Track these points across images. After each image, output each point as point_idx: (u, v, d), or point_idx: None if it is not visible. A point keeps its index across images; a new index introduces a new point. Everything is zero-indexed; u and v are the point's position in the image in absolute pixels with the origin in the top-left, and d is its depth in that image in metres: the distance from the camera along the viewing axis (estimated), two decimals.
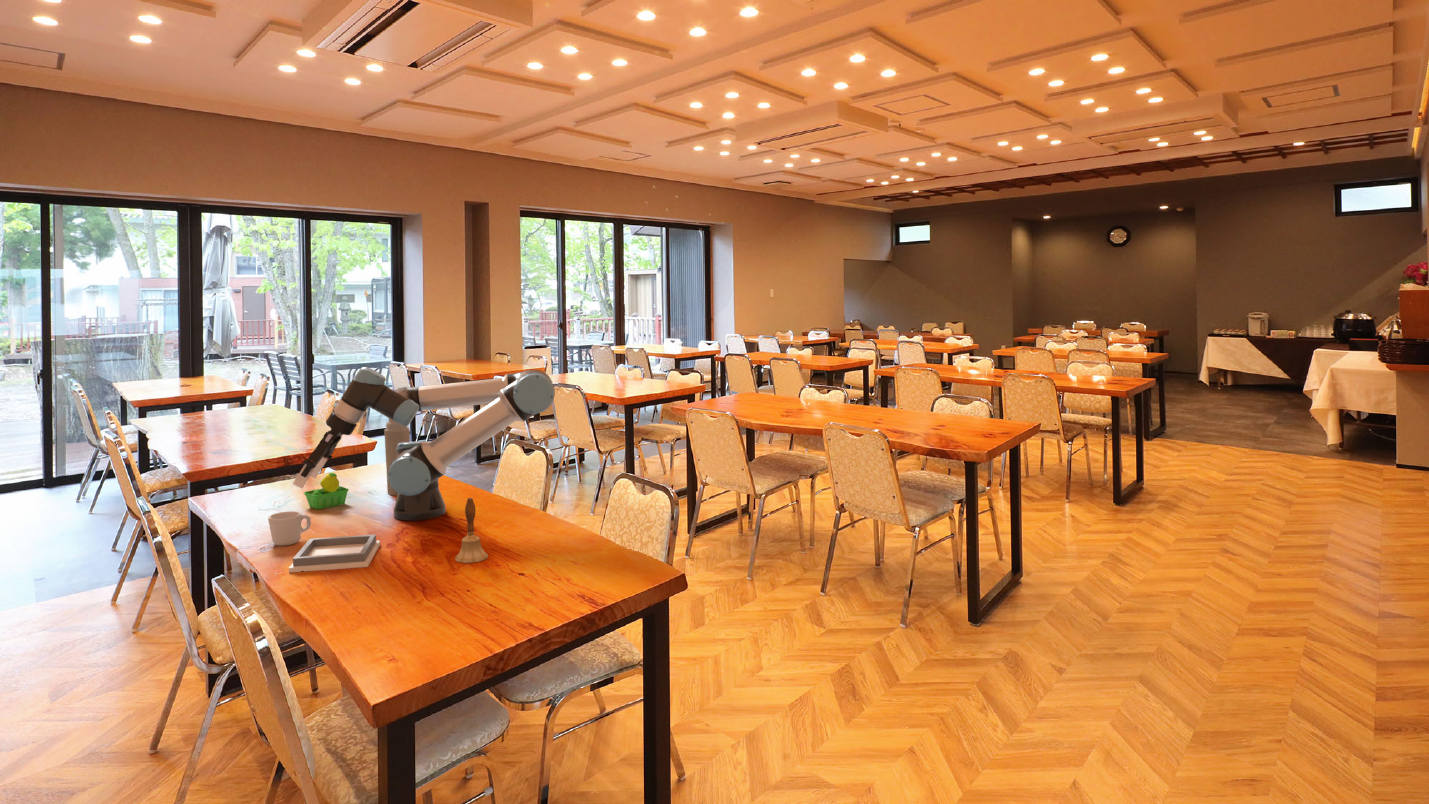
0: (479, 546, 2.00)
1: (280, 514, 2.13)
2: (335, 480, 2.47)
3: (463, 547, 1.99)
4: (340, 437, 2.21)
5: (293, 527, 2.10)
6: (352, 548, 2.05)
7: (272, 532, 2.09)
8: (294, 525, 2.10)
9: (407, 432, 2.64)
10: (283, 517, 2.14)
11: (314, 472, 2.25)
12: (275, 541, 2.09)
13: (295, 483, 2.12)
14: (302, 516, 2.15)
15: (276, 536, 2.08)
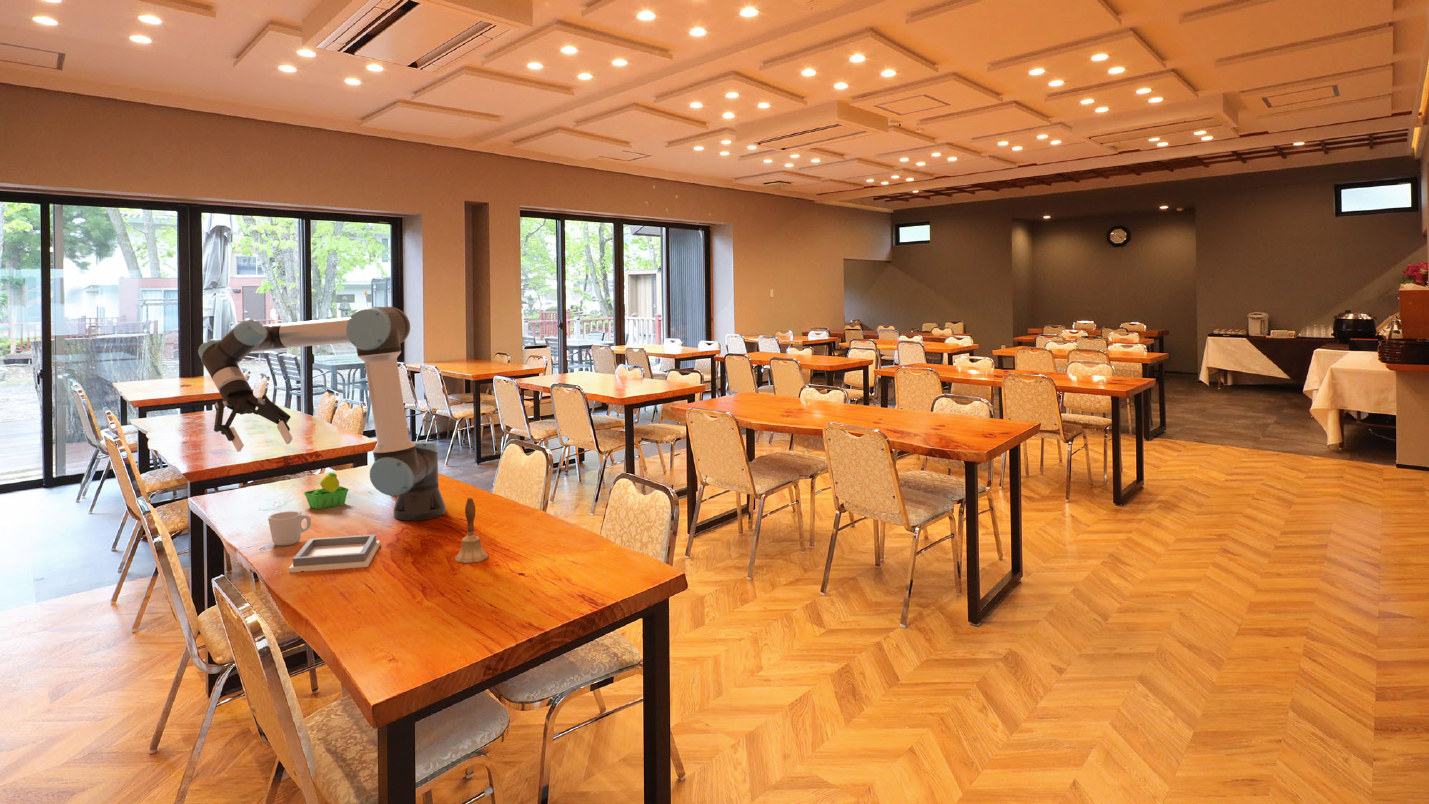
0: (479, 546, 2.00)
1: (280, 514, 2.13)
2: (335, 480, 2.47)
3: (463, 547, 1.99)
4: (248, 398, 2.19)
5: (293, 527, 2.10)
6: (352, 548, 2.05)
7: (272, 532, 2.09)
8: (294, 525, 2.10)
9: None
10: (283, 517, 2.14)
11: (286, 436, 2.21)
12: (275, 541, 2.09)
13: (237, 449, 2.09)
14: (302, 516, 2.15)
15: (276, 536, 2.08)
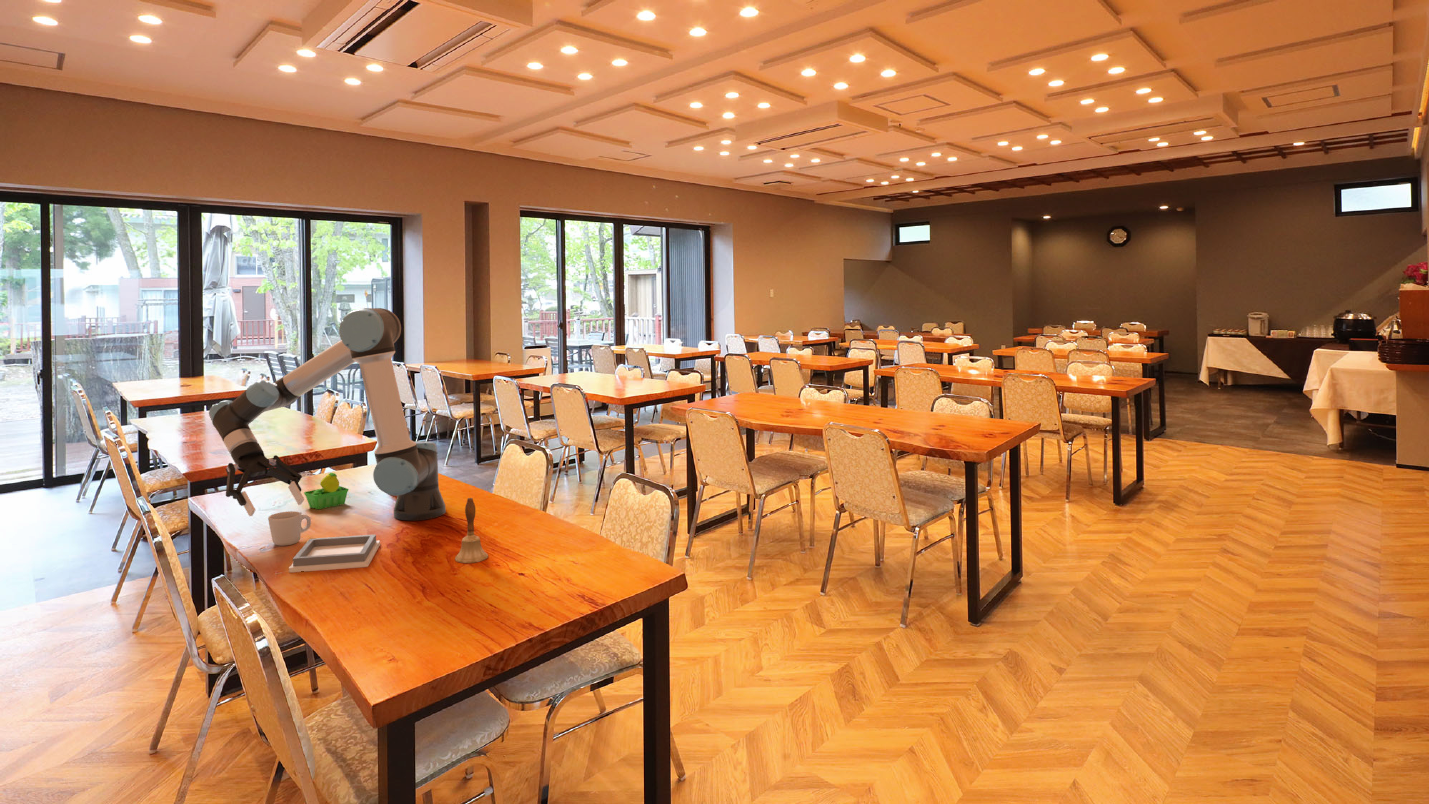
0: (479, 546, 2.00)
1: (280, 514, 2.13)
2: (335, 480, 2.47)
3: (463, 547, 1.99)
4: (259, 460, 2.18)
5: (293, 527, 2.10)
6: (352, 548, 2.05)
7: (272, 532, 2.09)
8: (294, 525, 2.10)
9: None
10: (283, 517, 2.14)
11: (298, 497, 2.20)
12: (275, 541, 2.09)
13: (249, 513, 2.08)
14: (302, 516, 2.15)
15: (276, 536, 2.08)
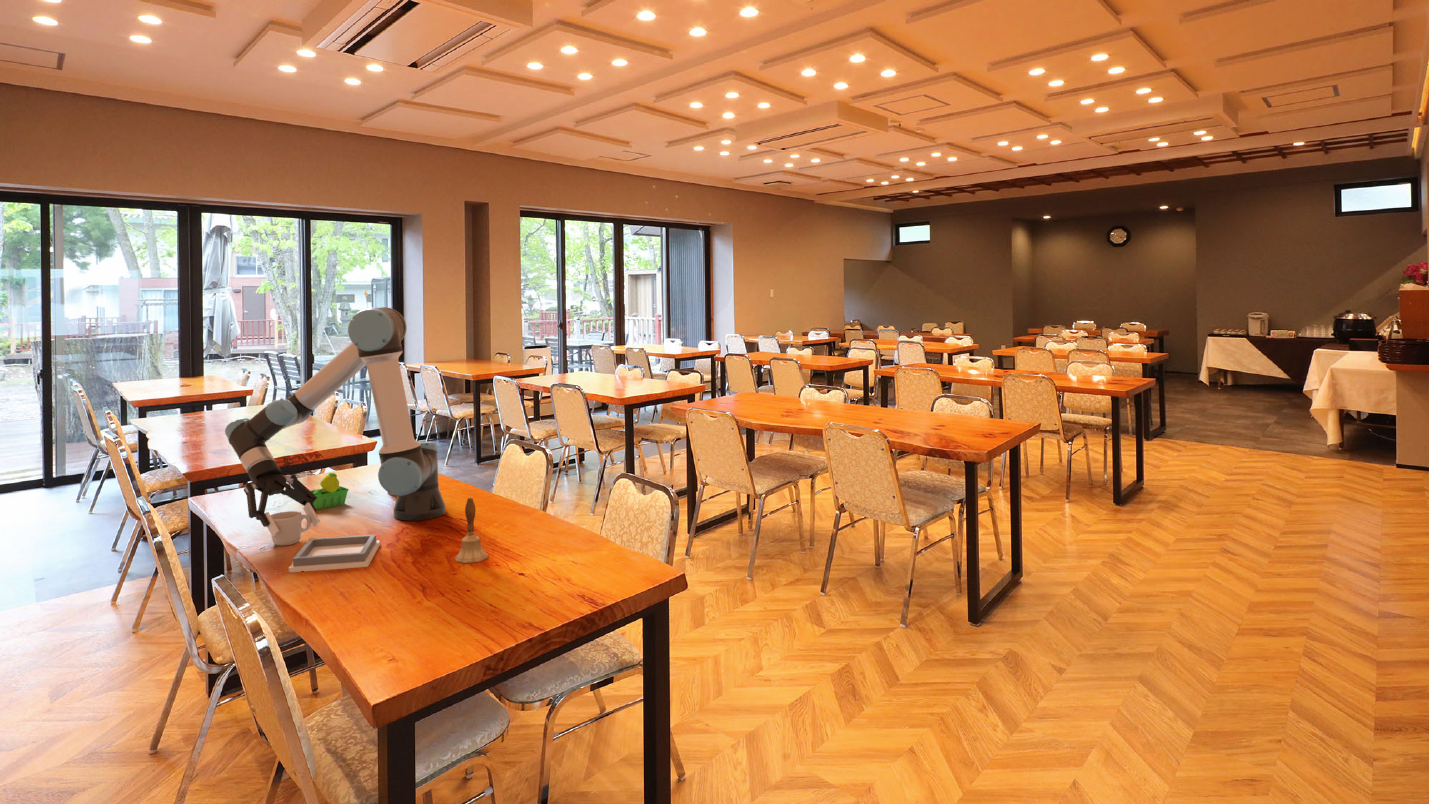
0: (479, 546, 2.00)
1: (280, 514, 2.13)
2: (335, 480, 2.47)
3: (463, 547, 1.99)
4: (276, 478, 2.16)
5: (293, 527, 2.10)
6: (352, 548, 2.05)
7: None
8: (294, 525, 2.10)
9: None
10: (283, 517, 2.14)
11: (313, 519, 2.16)
12: (275, 541, 2.09)
13: (273, 535, 2.07)
14: (302, 516, 2.15)
15: (276, 536, 2.08)
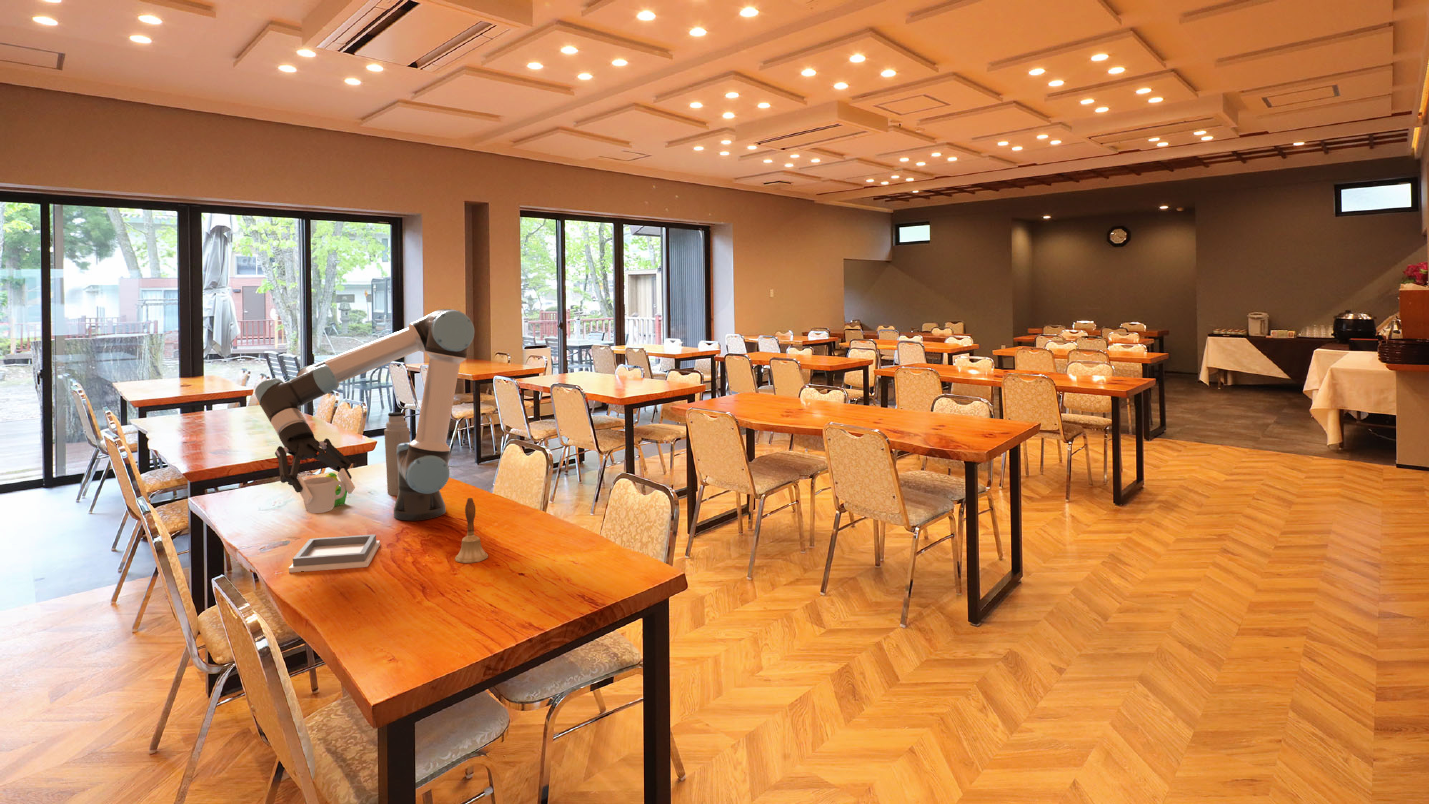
0: (479, 546, 2.00)
1: (313, 480, 2.00)
2: None
3: (463, 547, 1.99)
4: (309, 442, 2.02)
5: (327, 493, 1.96)
6: (352, 548, 2.05)
7: None
8: (328, 491, 1.96)
9: (407, 432, 2.64)
10: (316, 483, 2.00)
11: (348, 486, 2.02)
12: (308, 508, 1.95)
13: (306, 501, 1.93)
14: (336, 482, 2.01)
15: (309, 503, 1.95)
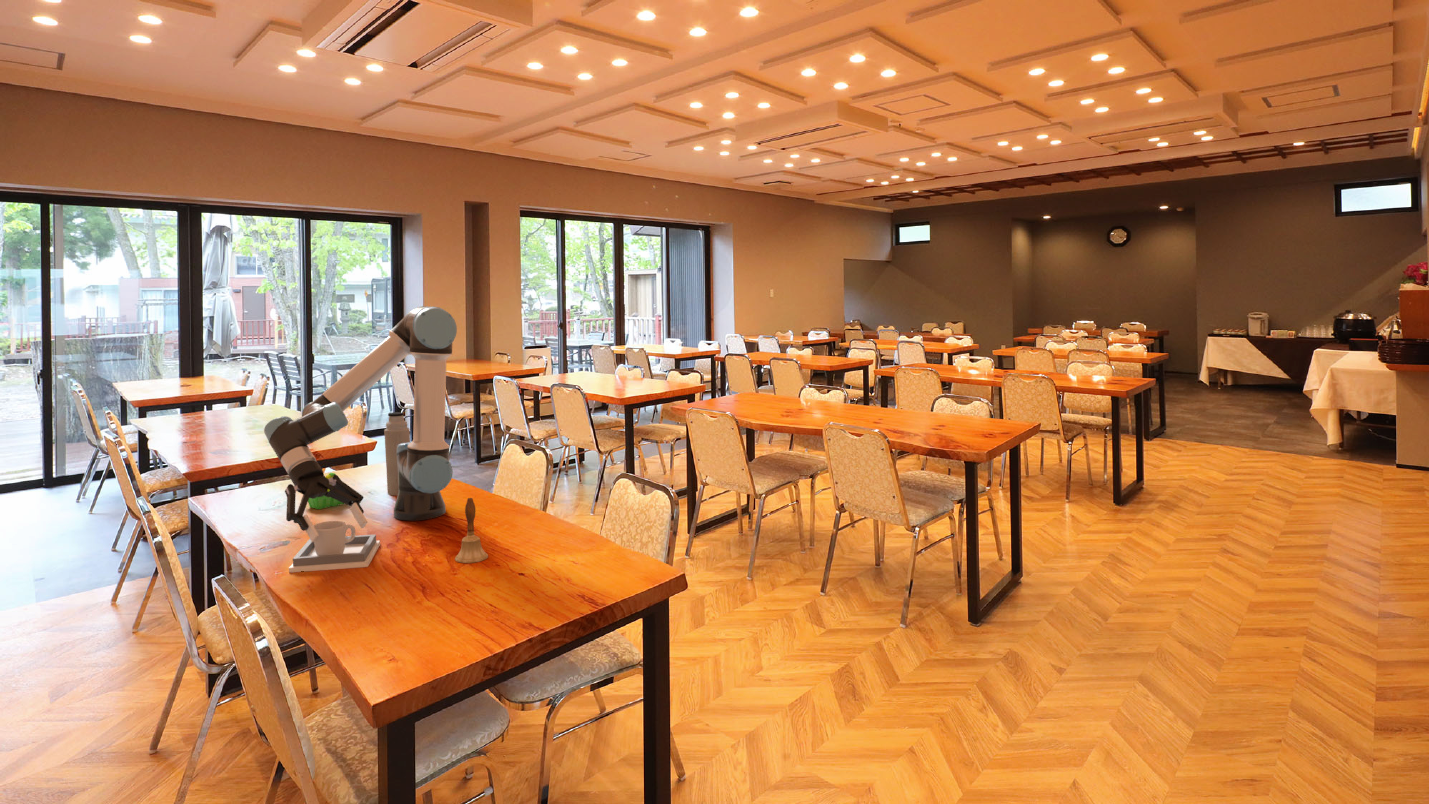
0: (479, 546, 2.00)
1: (323, 524, 2.01)
2: None
3: (463, 547, 1.99)
4: (319, 480, 2.03)
5: (338, 538, 1.97)
6: (352, 548, 2.05)
7: (315, 543, 1.96)
8: (339, 536, 1.97)
9: (407, 432, 2.64)
10: (327, 527, 2.01)
11: (361, 520, 2.04)
12: (319, 553, 1.96)
13: (312, 539, 1.93)
14: (346, 526, 2.02)
15: (320, 547, 1.96)
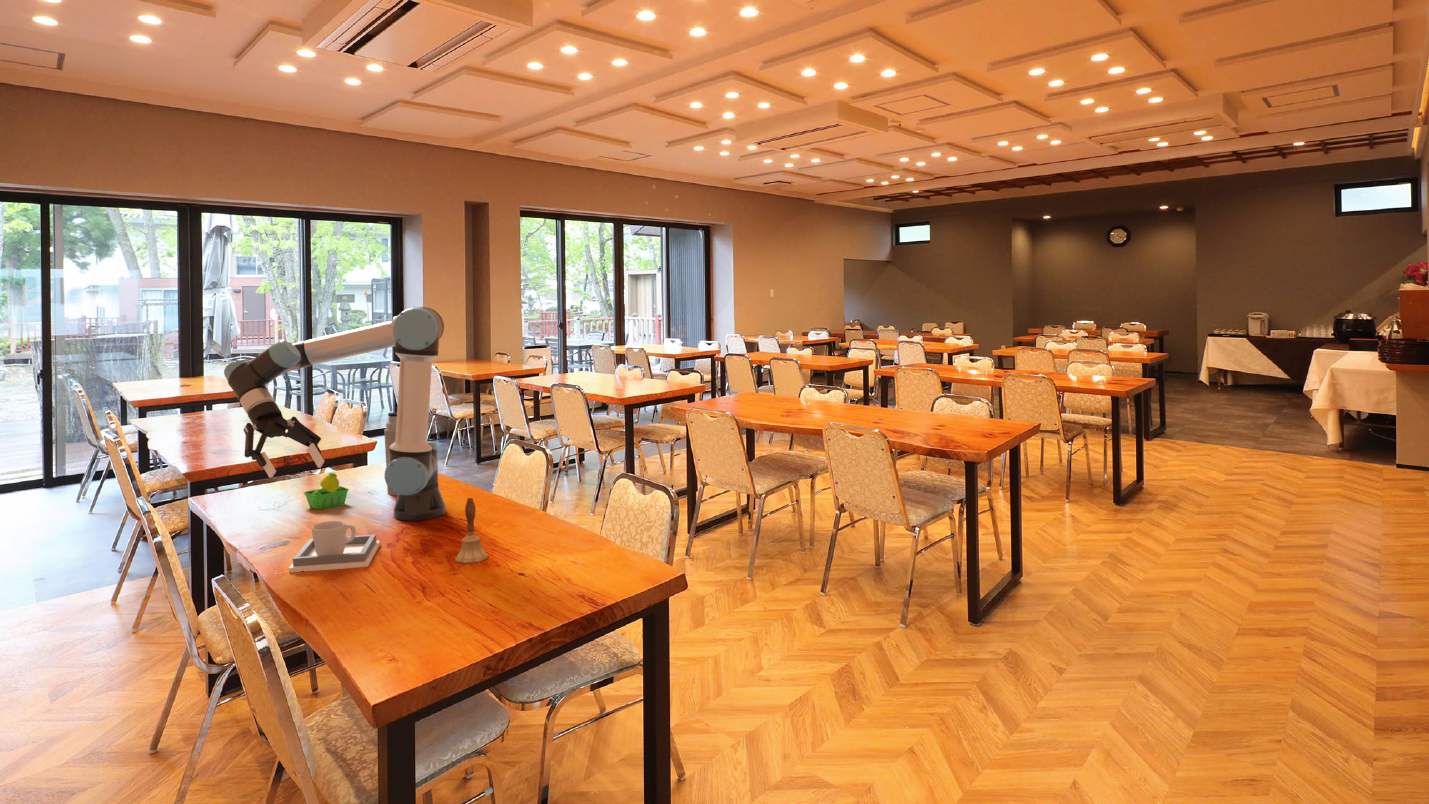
0: (479, 546, 2.00)
1: (323, 524, 2.01)
2: (335, 480, 2.47)
3: (463, 547, 1.99)
4: (277, 420, 2.11)
5: (338, 538, 1.97)
6: (352, 548, 2.05)
7: (316, 543, 1.96)
8: (339, 536, 1.97)
9: None
10: (327, 527, 2.01)
11: (318, 460, 2.13)
12: (319, 553, 1.96)
13: (269, 475, 2.01)
14: (346, 526, 2.02)
15: (320, 547, 1.96)
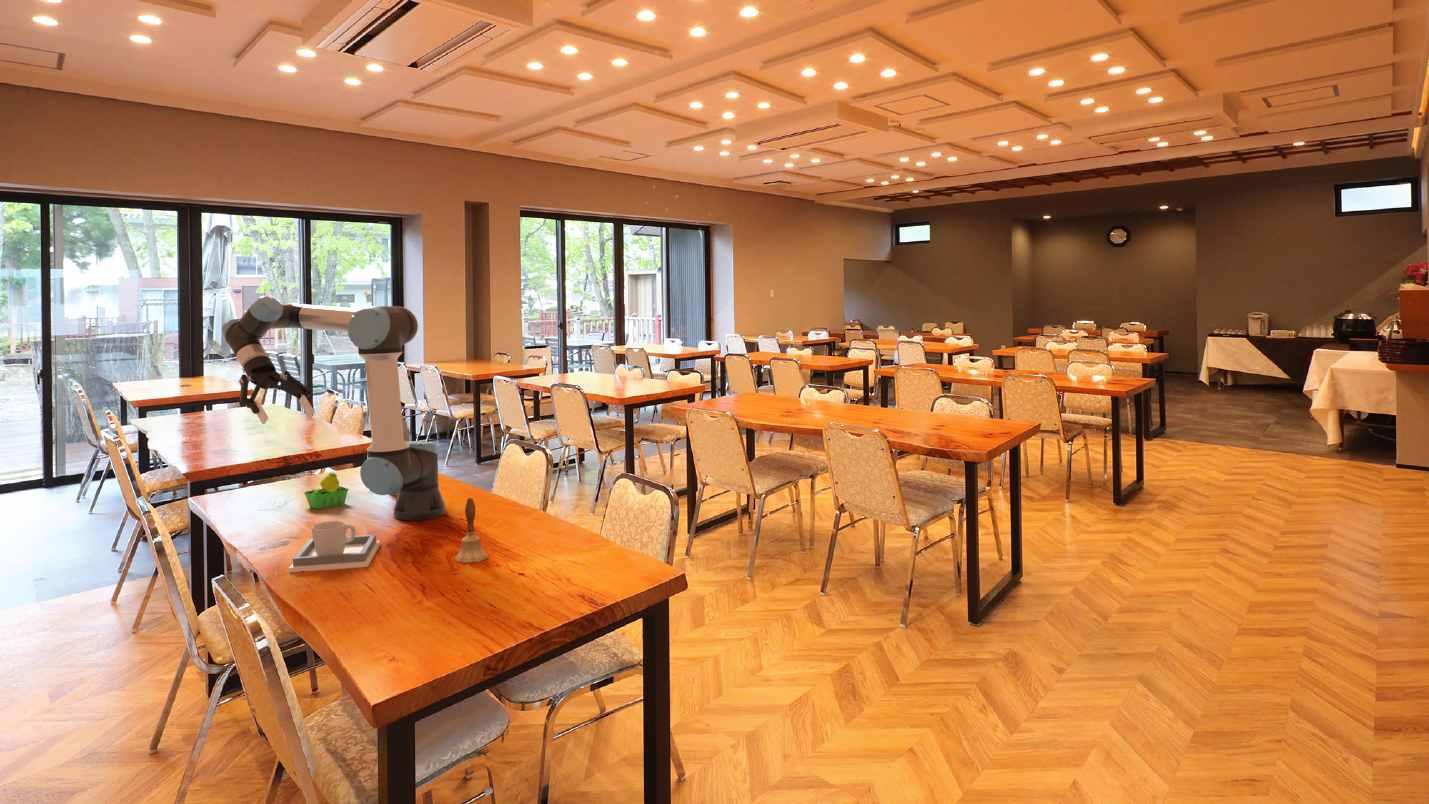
0: (479, 546, 2.00)
1: (323, 524, 2.01)
2: (335, 480, 2.47)
3: (463, 547, 1.99)
4: (270, 373, 2.26)
5: (338, 538, 1.97)
6: (352, 548, 2.05)
7: (316, 543, 1.96)
8: (339, 536, 1.97)
9: (407, 432, 2.64)
10: (327, 527, 2.01)
11: (308, 410, 2.28)
12: (319, 553, 1.96)
13: (262, 421, 2.17)
14: (346, 526, 2.02)
15: (320, 547, 1.96)
